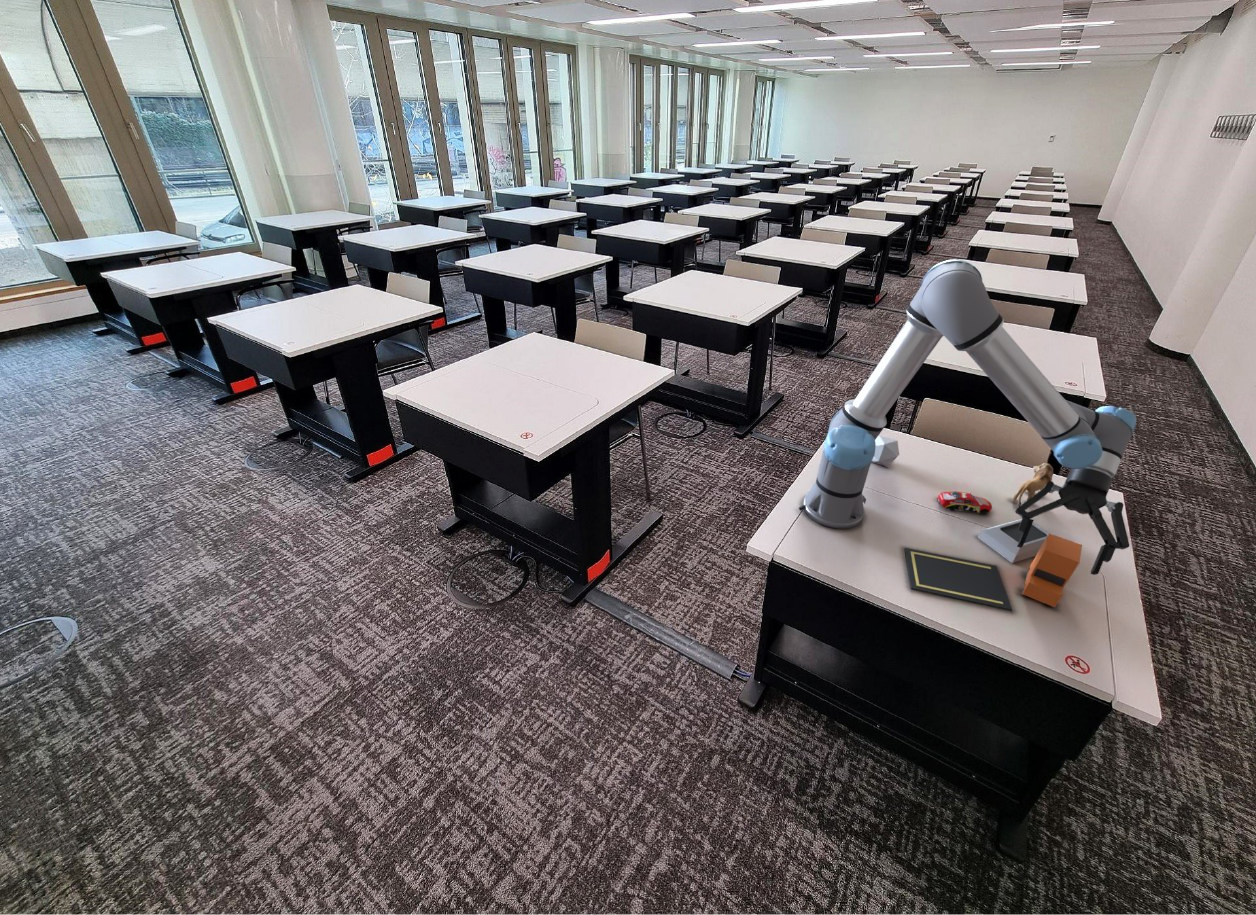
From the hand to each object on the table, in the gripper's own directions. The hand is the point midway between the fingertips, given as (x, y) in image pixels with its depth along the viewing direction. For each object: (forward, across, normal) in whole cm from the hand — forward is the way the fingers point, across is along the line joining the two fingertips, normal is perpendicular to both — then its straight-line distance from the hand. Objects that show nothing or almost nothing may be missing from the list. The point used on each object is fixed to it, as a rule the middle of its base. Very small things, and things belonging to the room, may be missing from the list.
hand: (1055, 559), depth 117 cm
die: (-15, +45, -26) cm, 54 cm away
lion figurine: (-20, +7, -32) cm, 38 cm away
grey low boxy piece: (-3, +6, -14) cm, 16 cm away
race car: (-9, +20, -20) cm, 29 cm away
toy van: (+7, 0, -3) cm, 8 cm away
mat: (+13, +16, +2) cm, 20 cm away
